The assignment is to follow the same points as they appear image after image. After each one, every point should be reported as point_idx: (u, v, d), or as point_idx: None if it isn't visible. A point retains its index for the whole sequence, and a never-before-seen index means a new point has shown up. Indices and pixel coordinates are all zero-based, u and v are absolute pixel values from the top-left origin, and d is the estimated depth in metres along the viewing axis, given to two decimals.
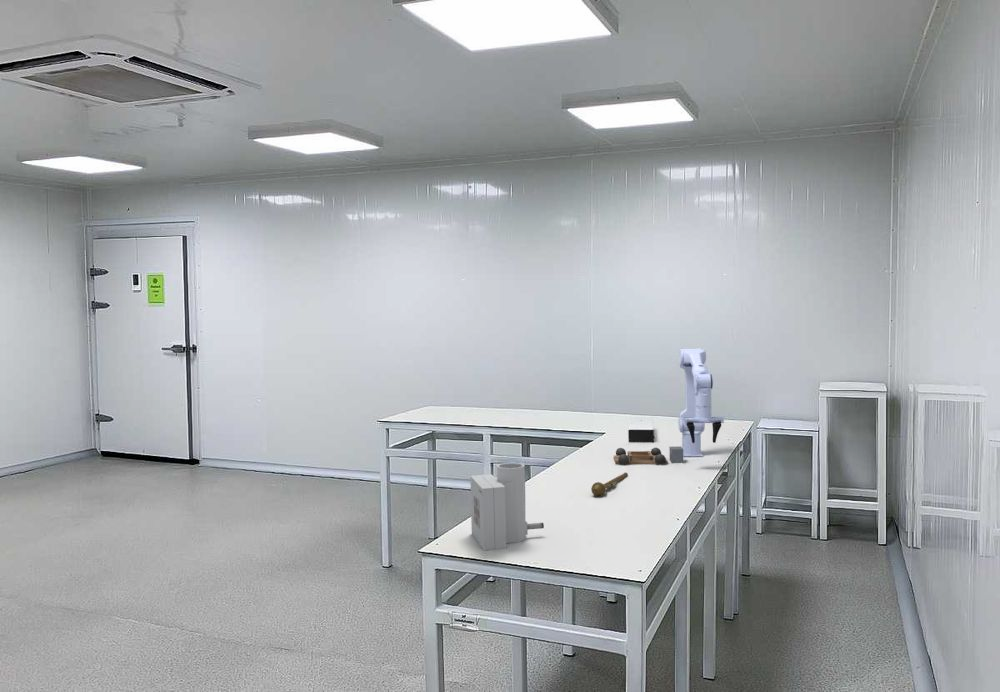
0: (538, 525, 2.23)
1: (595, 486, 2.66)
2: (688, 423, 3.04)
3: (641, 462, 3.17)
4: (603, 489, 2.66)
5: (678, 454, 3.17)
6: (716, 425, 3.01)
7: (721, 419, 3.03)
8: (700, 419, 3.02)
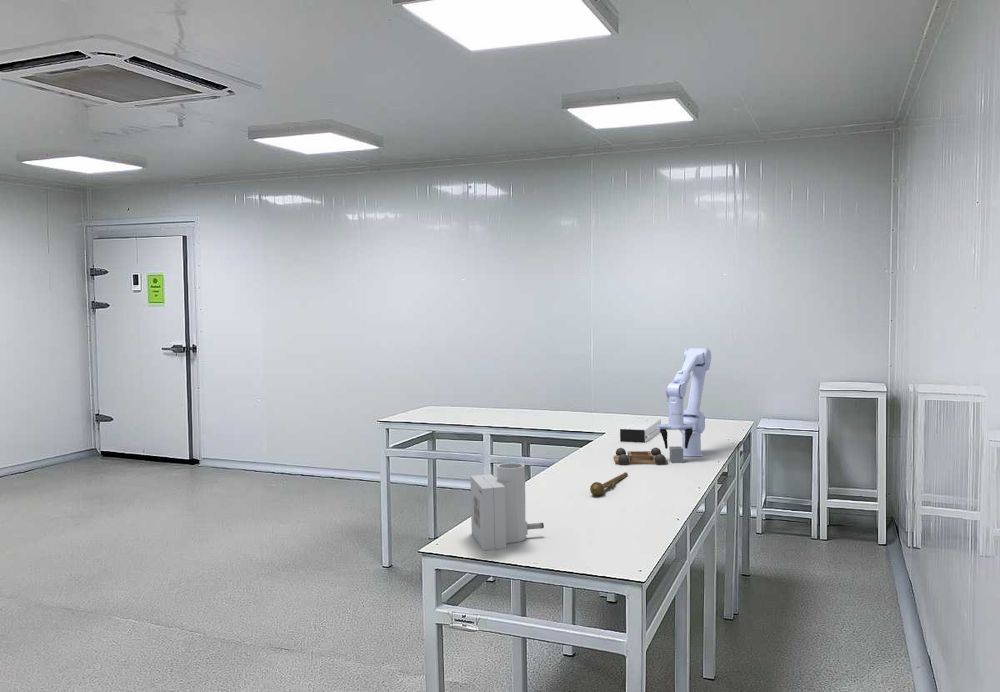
0: (538, 525, 2.23)
1: (594, 486, 2.66)
2: (661, 430, 3.19)
3: (641, 462, 3.17)
4: (602, 489, 2.66)
5: (678, 454, 3.17)
6: (688, 432, 3.17)
7: (693, 426, 3.18)
8: (672, 426, 3.17)
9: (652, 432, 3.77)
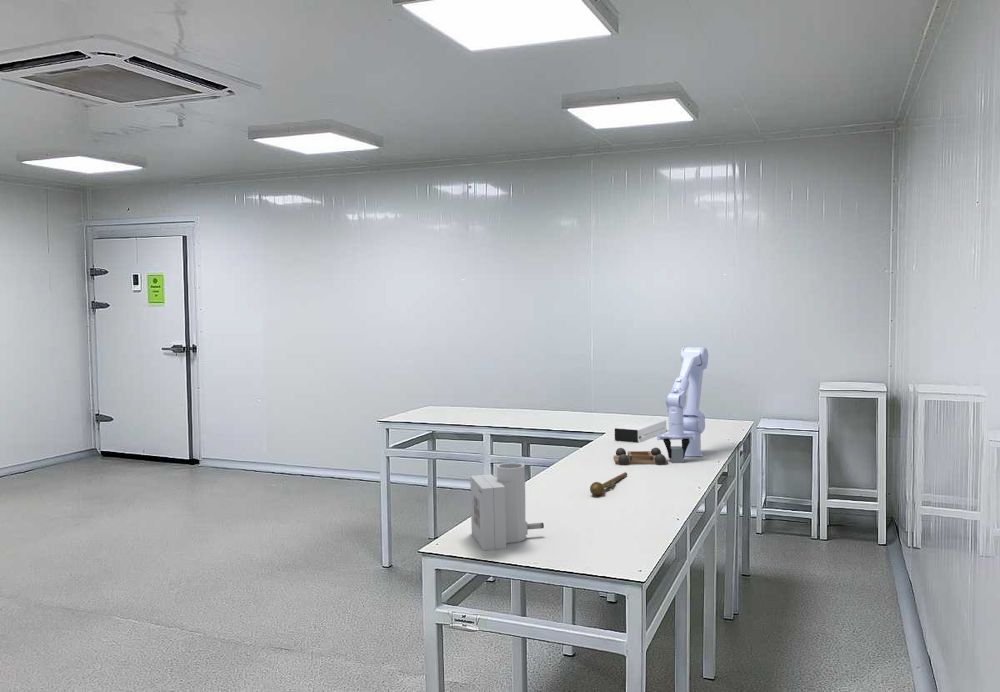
0: (538, 525, 2.23)
1: (594, 486, 2.66)
2: (661, 439, 3.20)
3: (641, 462, 3.17)
4: (602, 489, 2.67)
5: (678, 454, 3.17)
6: (684, 442, 3.17)
7: (693, 436, 3.19)
8: (673, 436, 3.18)
9: (651, 432, 3.76)
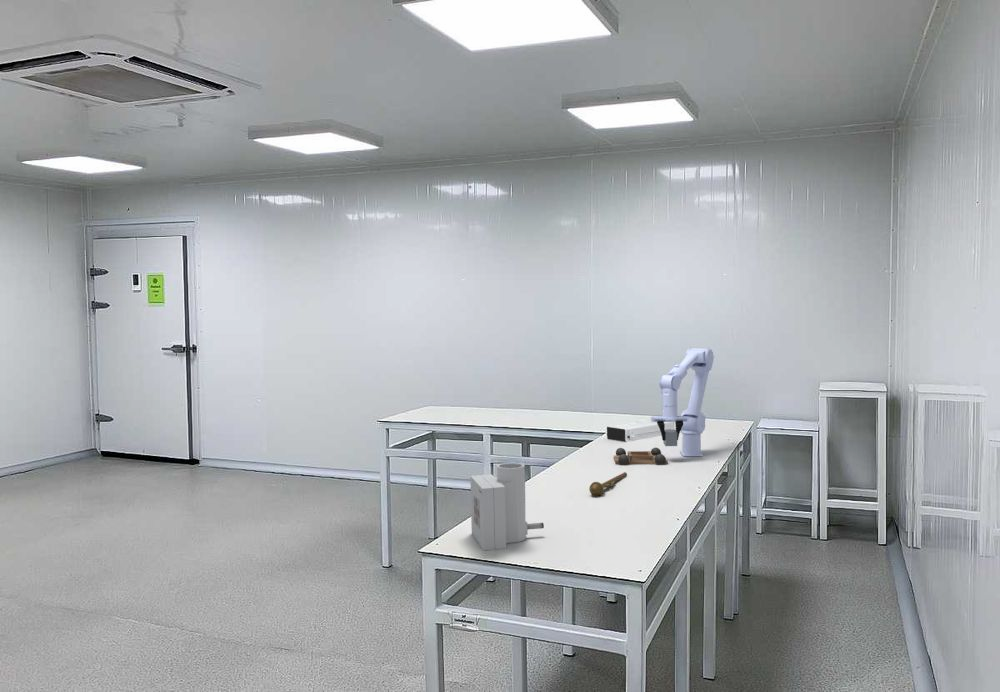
0: (538, 525, 2.23)
1: (593, 486, 2.67)
2: None
3: (641, 462, 3.17)
4: (601, 489, 2.67)
5: (672, 437, 3.17)
6: (678, 424, 3.17)
7: (686, 418, 3.19)
8: (666, 418, 3.17)
9: (648, 433, 3.75)
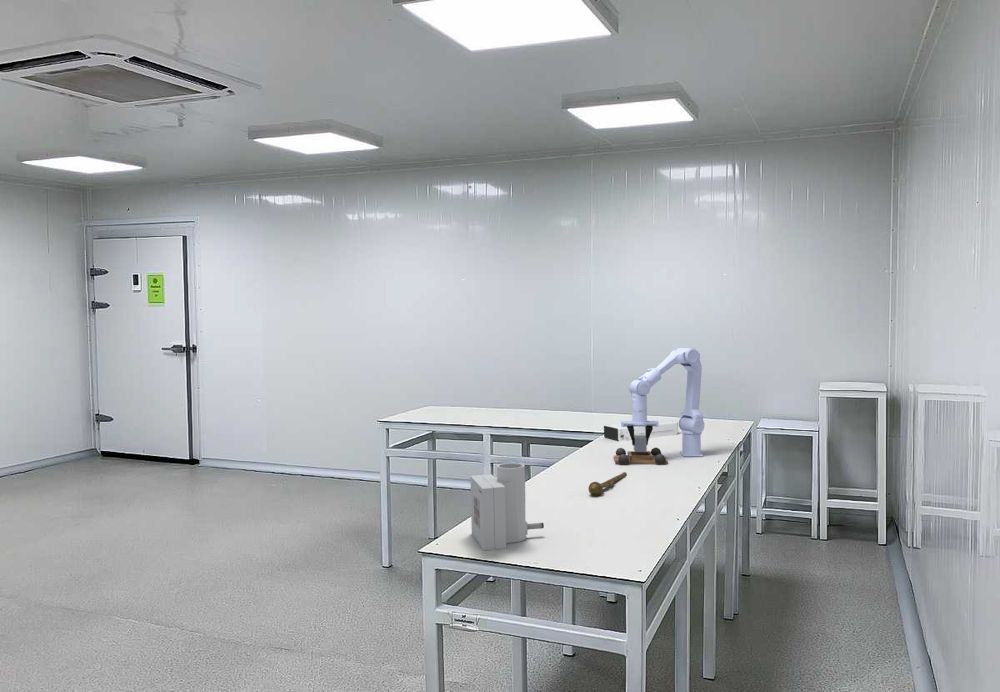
0: (538, 525, 2.23)
1: (592, 485, 2.67)
2: (625, 426, 3.21)
3: (641, 462, 3.17)
4: (600, 488, 2.67)
5: (641, 443, 3.19)
6: (648, 428, 3.19)
7: (656, 423, 3.20)
8: (636, 423, 3.19)
9: (645, 433, 3.75)
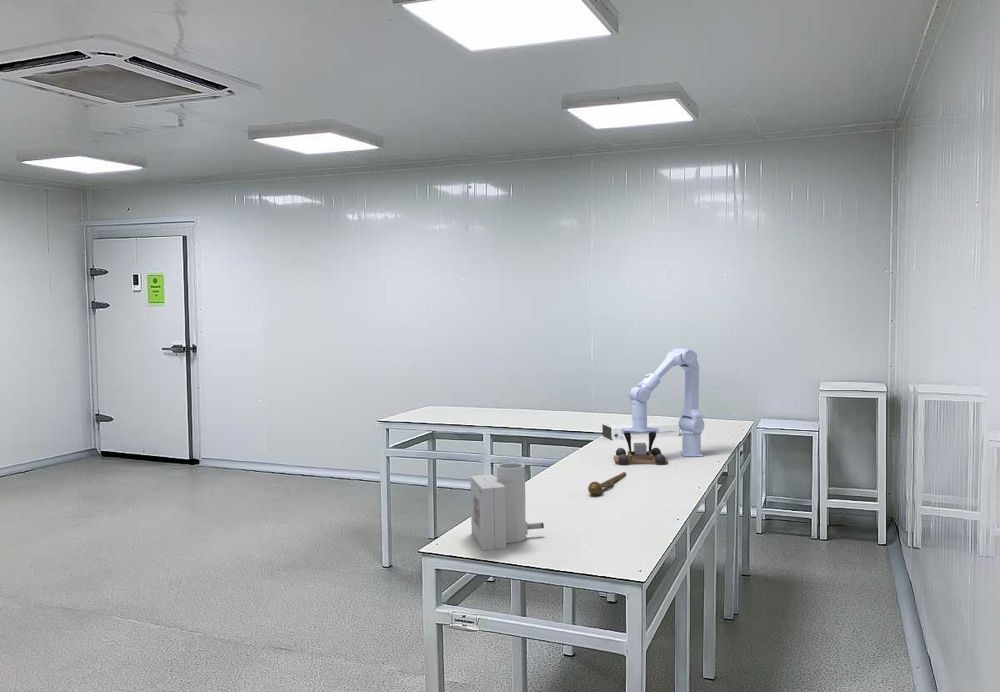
0: (538, 525, 2.23)
1: (592, 485, 2.67)
2: (625, 433, 3.22)
3: (641, 462, 3.17)
4: (600, 488, 2.67)
5: (641, 450, 3.19)
6: (651, 435, 3.19)
7: (656, 430, 3.21)
8: (636, 430, 3.19)
9: (642, 433, 3.75)
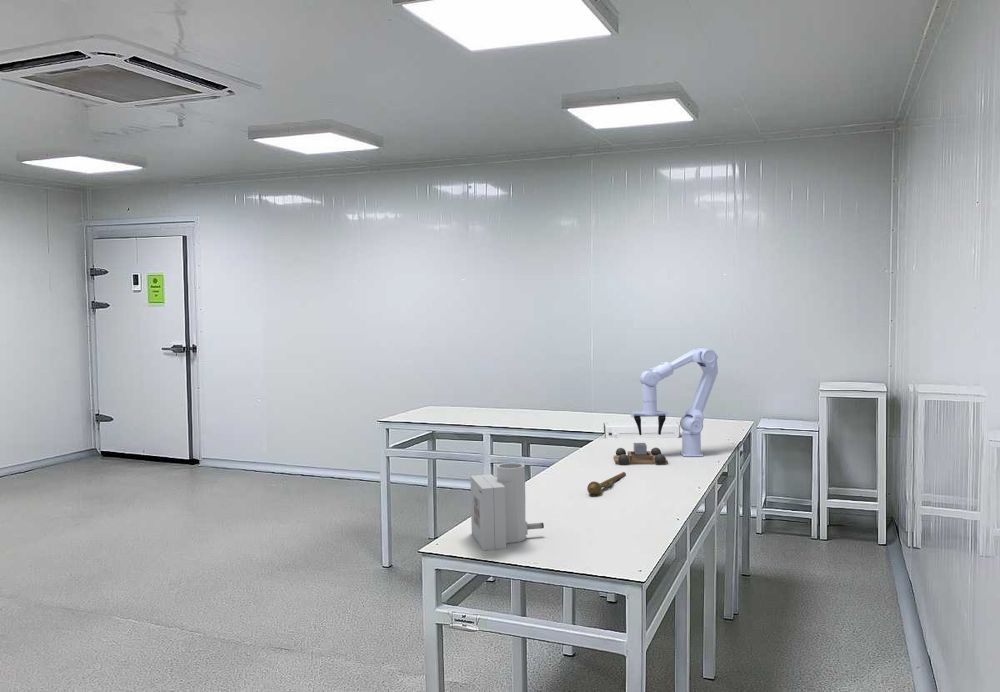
0: (538, 525, 2.23)
1: (591, 485, 2.67)
2: (635, 417, 3.28)
3: (641, 462, 3.17)
4: (599, 488, 2.67)
5: (641, 450, 3.19)
6: (661, 418, 3.26)
7: (665, 413, 3.27)
8: (646, 413, 3.26)
9: (638, 433, 3.75)
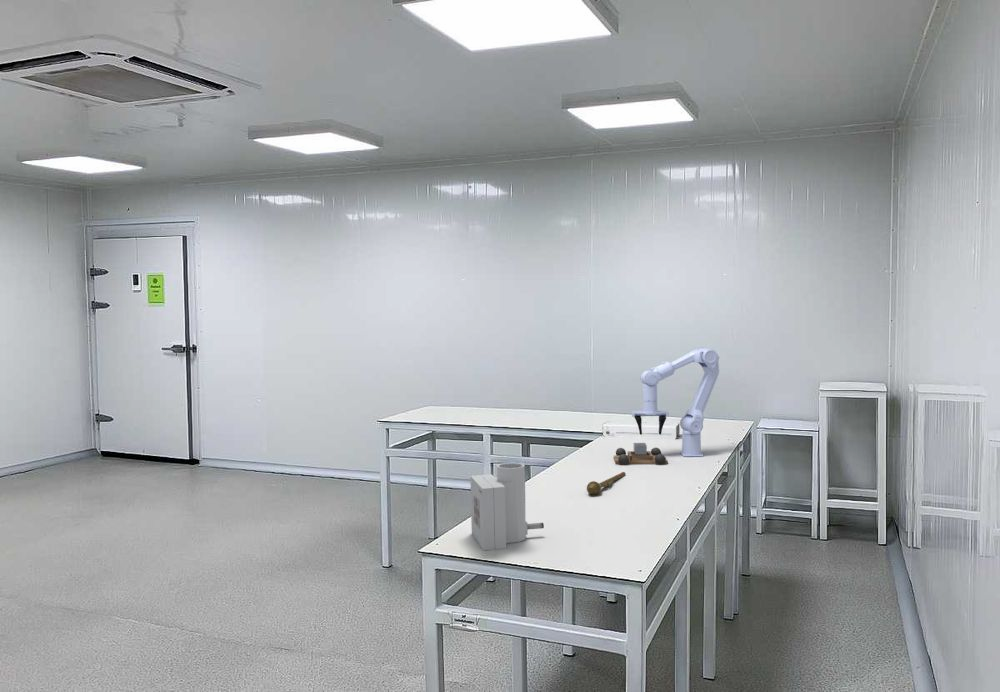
0: (538, 525, 2.23)
1: (590, 485, 2.68)
2: (636, 416, 3.29)
3: (641, 462, 3.17)
4: (598, 488, 2.68)
5: (641, 450, 3.19)
6: (661, 418, 3.26)
7: (666, 412, 3.28)
8: (646, 412, 3.27)
9: (635, 433, 3.76)
